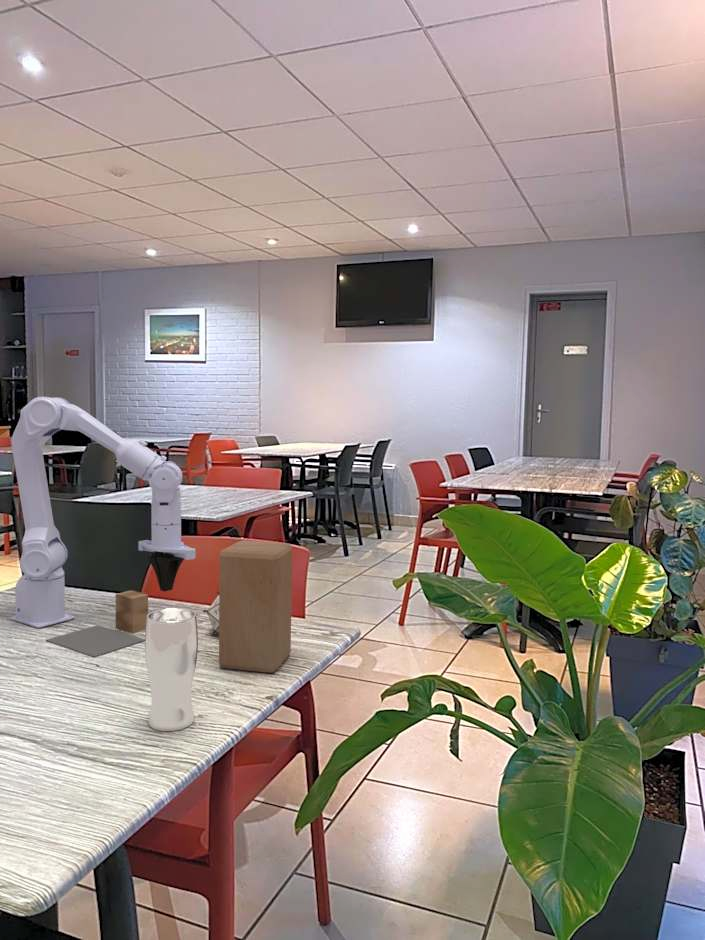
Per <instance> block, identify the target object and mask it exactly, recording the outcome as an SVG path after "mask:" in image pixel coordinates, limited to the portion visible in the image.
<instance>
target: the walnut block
mask: <svg viewBox="0 0 705 940" xmlns="http://www.w3.org/2000/svg"><path fill="white" fill-rule="evenodd" d="M147 614H149V594H147V593H143V592H140V591H136V590H131V589H130V590H126V591H123V592H120V593H119V592H118V593H115V630H116V629H117V630H116V631H118V630H119V632H121V631H123V632H122V633H124V632H125V633H126V634H128V633H129V635H131V634H132V635H133V636H135V635H137V633H138V634H140V632H141V633H144V632H146V621H147ZM134 634H135V635H134Z"/></svg>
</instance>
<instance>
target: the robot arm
mask: <svg viewBox="0 0 705 940" xmlns="http://www.w3.org/2000/svg"><path fill="white" fill-rule="evenodd" d="M61 430H64V431H73V432H76V431H77V432H80V433H81V434H84V435H85V436H87V437H88V438H90V439H91V440H93V441H95V442H96V443H97V444H99V445H101V446H103V447H104V448H106V449H107V450H109V451H111V452H112V453H114V454H115V457H116V462H117V464H118V465H120V466H122V467H123V468H124V469H126V470H128V471H129V472H131V473H132V474H134V475H135V476H136V477H138V478H140V479H141V480H142V481H147V482H148V485H149V487H150V488H151V494H152V495H151V496H152V497H151V501H150V503H151V507H150V508H151V509H150V510H151V512H150V513H151V528H150V529H151V540H149V539H145V540H143V539H142V540H139V541H138V551H139V552H144V551H146V552H152V553H153V555H150V556H148V562H149V563H150V565H151V566H152V569H153V571H154V572H155V577H156V579H157V583H158V586H159V589H160V592H169V591H173V590H174V589H173V588H174V585H175V582H176V581H175V580H176V576H177V573H178V571H179V568H180V566H181V564H183V562H184V560H187V561H189V560H194V559H196V548H194V547H190V546H188V545H185V542H183V541H182V500H181V494H182V492H181V487H179V486H180V485H181V484H182V481H183V478H184V477H183V472H182V470H181V468H180V467H179V466H178V465H177V463H175V462H174V461H169V460H168V461H166V460H167V459H168V458H167V456H165V455H160V454H157V453H156V452H155V451H153V450H152V449H151V448H149V447H147V445H148V444H147V442H145V441H144V440H137V439H135V438H132V439H127V440H126V439H124V438H123V437H121V436H120V435H118V434H117V433H116V432H114V431H113V430H112V429H110V427H107V426H106V425H105V424H103V423H102V422H101V421H99V420H98V419H97V418H96V417H94V416H92V415H91V414H90V413H88V412H87V411H85V410H84V409H82V408H80V407H79V406H78V405H76V404H73V403H70V402H69V401H68V400H67V399H65V398H62V397H57V396H56V397H47V396H38V397H37V396H36V397H34V398H32V400H30V401H29V402H28V403H27V404H25V406H23V407H22V408H21V409H20V416H19V420H18V422H17V425H16V427H15V429H14V431H13V434H12V436H11V439H10V444H11V450H12V454H13V455H12V456H13V462H14V467H15V472H16V473H15V474H16V480H17V485H18V492H19V498H20V504H21V505H20V506H21V511H22V516H23V517H22V518H23V523H24V528H25V531H24V535H23V538H22V541H21V546H22V553H21V557H20V559H19V566H20V570H21V572H22V573H23V575H22V576H20V577H19V578H18V580H17V582H16V584H15V588H14V599H15V602H14V603H15V605H14V606H15V607H14V608H15V615H14V616H11V617H10V618H11V620H12V621H15V622H19V623H22V624H24V625H27V626H31V627H33V628H37V629H39V628H40V629H41V628H43V627H48V626H51V625H55V624H59V623H64V622H67V621H70V620H74V619H75V616H74V615H72V614H69V613H66V612H65V611H66V608H65V607H66V606H65V605H66V604H65V603H66V602H65V601H66V600H65V599H66V598H65V597H66V595H65V585H66V584H65V570H64V569H63V565H64V564H65V563H66V561H67V559H68V549H67V547H66V545H65V544H64V543H63V541H62V539H61V536H60V535H61V534H60V531H59V530H58V528H57V527H56V525H55V522H54V516H53V511H52V510H53V509H52V504H51V498H50V497H51V496H50V492H49V485H48V484H49V483H48V478H47V472H46V466H45V461H44V459H45V458H44V453H43V452H44V451H43V446H44V445H45V444H46V443H47V441H48V440H50V438H51V437H52V436H53V435H54V434H56V433H57V432H60V431H61Z"/></svg>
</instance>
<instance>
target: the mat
mask: <svg viewBox="0 0 705 940" xmlns="http://www.w3.org/2000/svg"><path fill="white" fill-rule="evenodd" d="M45 641H46V642H48V643H51V644H53V643H54V645H56V644H58V645H57V646H59V645H60V647H62V646H63V648H65V647H66V648H65V649H68V648H69V650H71V649H72V651H74V650H75V652H77V651H78V652H77V653H80V652H81V653H80V654H83V655H86V654H87V655H86V656H88V657H93V658H97V657H101V656H104V655H106V653H107V654H109V652H110V653H112V651H113V652H115V651H118V650H121V649H124V648H127V647H131V646H134V645H137V644H140V643H142V642H143V643H144V642H145V638H142V637H139V636H136V635H131V634H128V633H124V632H121V631H118V630H116V629H112V628H109V627H105V626H102V625H98V624H97V625H96V624H95V625H93V626H90V627H86V628H83V629H79V630H75V631H73V632H72V631H71V632H68V633H64V634H61V635H58V636H54V637H51V638H48V639H45ZM103 654H104V655H103ZM100 655H101V656H100Z"/></svg>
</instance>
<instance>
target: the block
mask: <svg viewBox="0 0 705 940" xmlns="http://www.w3.org/2000/svg"><path fill="white" fill-rule="evenodd" d="M218 570H219V575H218V576H219V582H218V583H219V589H218V591H219V632H218V665H219V667H220V668H222V669H229V670H240V671H247V672H248V671H250V672H260V673H267V672H268V673H269V674H272V673H274V672H276V671H277V669H278V668H279V667H280V666H281V665H282V664H283V662H284V661H285V660H286V659H287V657H289V655H290V653H291V648H292V647H291V646H292V643H291V641H292V640H291V639H292V597H293V596H292V594H293V593H292V587H293V547H292V544H290V543H287V542H275V541H258V540H257V541H256V540H247V539H246V540H245V539H243V540H242V539H241V540H240V541H238V542H236V543H233V544H231V545H230V546H227V547H225V548H223V549H221V551H220V553H219V569H218ZM268 673H267V674H268Z"/></svg>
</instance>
